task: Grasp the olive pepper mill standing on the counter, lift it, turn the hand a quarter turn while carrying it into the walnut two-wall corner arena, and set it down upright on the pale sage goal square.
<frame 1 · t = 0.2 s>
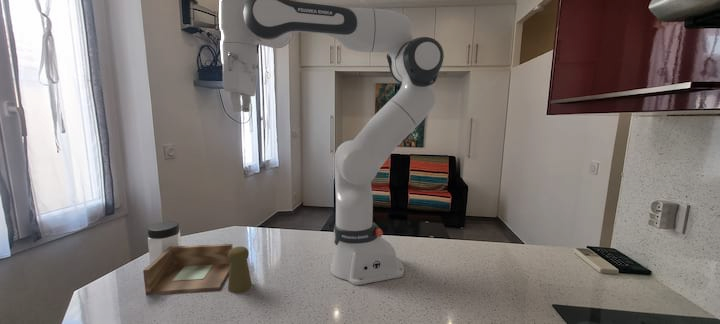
hand: (242, 111, 80), 47 cm above the kitchen counter, fingers open, 8 cm apart
jar: (166, 262, 95), on the kitchen counter
olive pepper mill: (240, 287, 82), on the kitchen counter
arena: (193, 278, 86), on the kitchen counter
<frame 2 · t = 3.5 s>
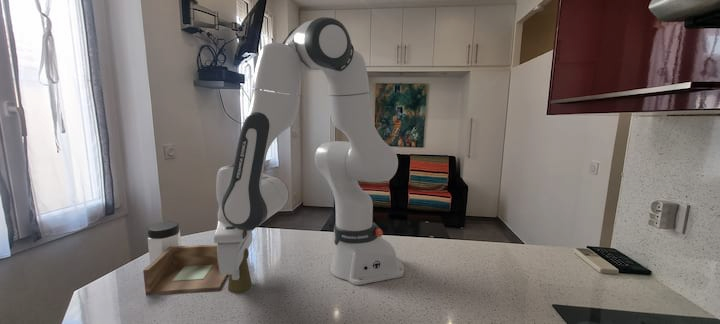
hand: (239, 272, 81), 4 cm above the kitchen counter, fingers closed on olive pepper mill, 5 cm apart
olive pepper mill: (240, 287, 82), on the kitchen counter, touching gripper
everything else where it was.
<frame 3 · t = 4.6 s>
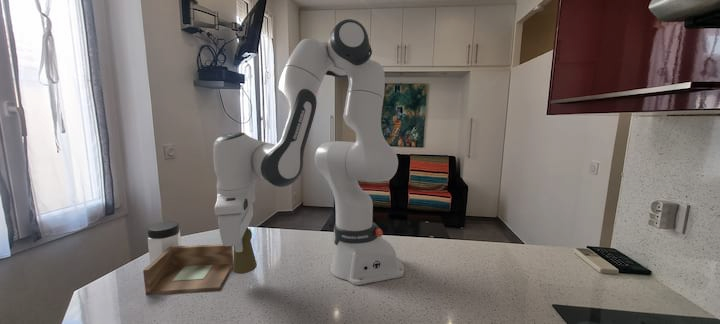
hand: (242, 245, 80), 12 cm above the kitchen counter, fingers closed on olive pepper mill, 4 cm apart
olive pepper mill: (245, 268, 81), point 5 cm above the kitchen counter, touching gripper
everything else where it was.
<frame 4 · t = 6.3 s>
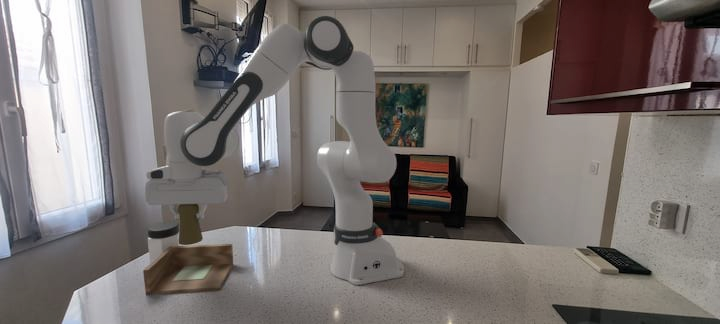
hand: (189, 218, 84), 17 cm above the kitchen counter, fingers closed on olive pepper mill, 4 cm apart
olive pepper mill: (190, 241, 85), point 11 cm above the kitchen counter, touching gripper
everything else where it was.
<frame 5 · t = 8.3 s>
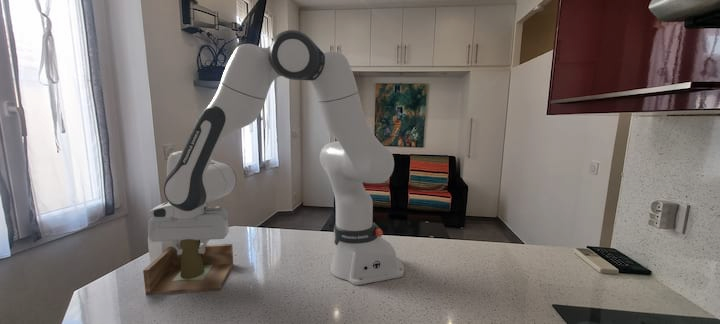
hand: (191, 253, 86), 7 cm above the kitchen counter, fingers closed on olive pepper mill, 4 cm apart
olive pepper mill: (192, 273, 86), point 1 cm above the kitchen counter, touching arena, gripper
everything else where it was.
when the fingers open (7 cm above the kitchen counter, at t = 8.4 s): olive pepper mill stays where it is, resting on arena.
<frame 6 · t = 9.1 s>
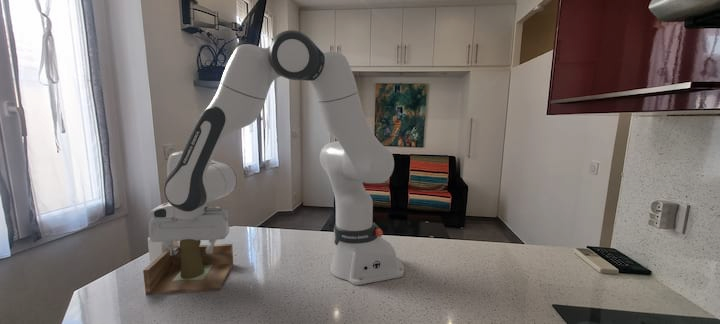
hand: (192, 254, 86), 7 cm above the kitchen counter, fingers open, 8 cm apart
olive pepper mill: (192, 273, 86), point 1 cm above the kitchen counter, touching arena
everything else where it was.
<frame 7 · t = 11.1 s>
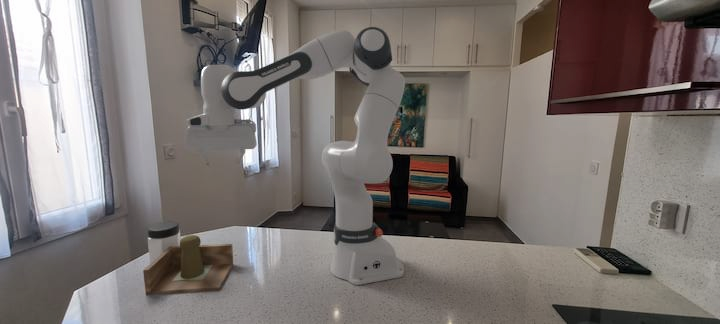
hand: (223, 164, 94), 31 cm above the kitchen counter, fingers open, 8 cm apart
nothing on the kitchen counter moved.
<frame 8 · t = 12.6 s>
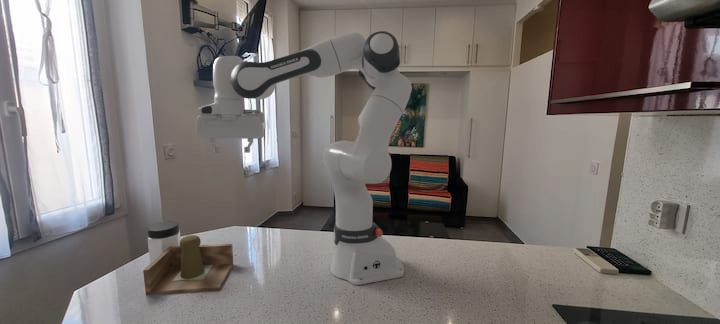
hand: (232, 152, 97), 34 cm above the kitchen counter, fingers open, 8 cm apart
nothing on the kitchen counter moved.
at the end: olive pepper mill inside the target area on the arena (0.5 cm from its centre), point 0.8 cm above the arena's base; olive pepper mill tilted 0°; the gripper is holding nothing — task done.
